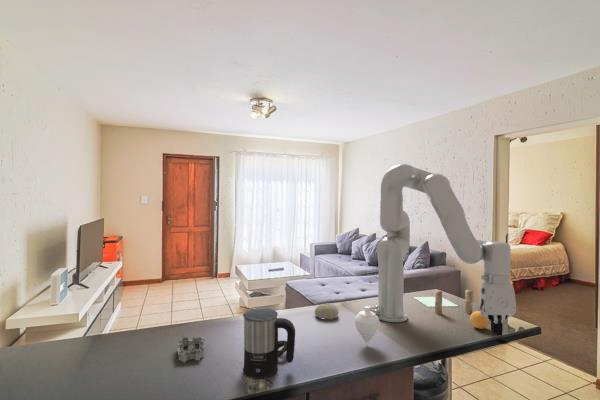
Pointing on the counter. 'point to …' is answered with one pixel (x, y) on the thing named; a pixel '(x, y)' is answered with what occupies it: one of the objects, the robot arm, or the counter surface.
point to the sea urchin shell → (326, 311)
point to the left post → (438, 302)
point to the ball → (479, 320)
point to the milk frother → (265, 342)
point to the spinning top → (367, 324)
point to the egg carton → (191, 348)
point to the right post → (468, 301)
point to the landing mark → (431, 302)
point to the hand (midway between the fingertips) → (496, 334)
